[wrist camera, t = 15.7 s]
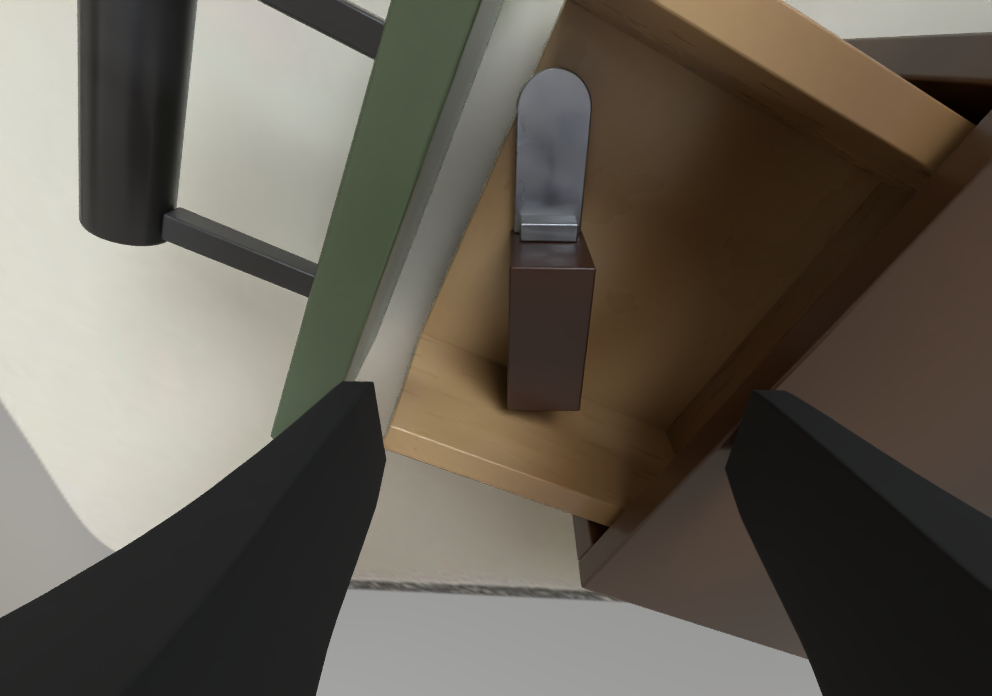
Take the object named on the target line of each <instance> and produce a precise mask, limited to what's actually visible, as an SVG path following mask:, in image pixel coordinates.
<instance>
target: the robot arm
mask: <svg viewBox="0 0 992 696" xmlns="http://www.w3.org/2000/svg"><path fill="white" fill-rule="evenodd" d="M385 463H386V455H385V449H384V443H383V437H382V431H381V425H380V419H379V413H378V407H377V401H376V395H375V389H374V383H373V382H358V381H342V382H341V383H339V384H338V385H337V386H336V387H334V388H333V389H332V390H331V391H330V392H328V393H327V394H326V395H325V396H324V397H323V398H322V399H320V400H319V401H318V402H317V403H316V404H315V405H313V406H312V407H311V408H310V409H309V410H308V411H307V412H305V413H304V414H303V415H302V416H301V417H300V418H298V419H297V420H296V421H295V422H294V423H293V424H291V425H290V426H289V427H288V428H287V429H285V430H284V431H283V432H282V433H281V434H279V435H278V436H277V437H276V438H275V439H273V440H272V441H271V442H270V443H269V444H267V445H266V446H265V447H264V448H263V449H261V450H260V451H259V452H258V453H256V454H255V455H254V456H252V457H251V458H250V459H249V460H247V461H246V462H245V463H243V464H242V465H241V466H239V467H238V468H237V469H236V470H234V471H233V472H232V473H230V474H229V475H228V476H226V477H225V478H224V479H223V480H221V481H220V482H219V483H217V484H216V485H215V486H213V487H212V488H211V489H210V490H208V491H207V492H205V493H204V494H203V495H201V496H200V497H198V498H197V499H196V500H194V501H193V502H191V503H190V504H189V505H187V506H186V507H184V508H183V509H181V510H180V511H178V512H177V513H176V514H174V515H172V516H171V517H169V518H168V519H166V520H165V521H163V522H162V523H160V524H159V525H157V526H156V527H154V528H153V529H151V530H150V531H148V532H147V533H145V534H144V535H142V536H141V537H139V538H138V539H136V540H134V541H133V542H131V543H130V544H128V545H126V546H125V547H123V548H122V549H120V550H118V551H116V552H115V553H113V554H111V555H110V556H108V557H106V558H105V559H103V560H101V561H99V562H98V563H96V564H94V565H93V566H91V567H89V568H88V569H86V570H84V571H83V572H81V573H79V574H77V575H76V576H74V577H72V578H71V579H69V580H67V581H66V582H64V583H62V584H60V585H59V586H57V587H55V588H54V589H52V590H50V591H49V592H47V593H45V594H44V595H42V596H40V597H38V598H36V599H34V600H33V601H31V602H29V603H27V604H25V605H23V606H22V607H20V608H18V609H16V610H14V611H12V612H11V613H9V614H7V615H5V616H3V617H1V618H0V696H316V692H317V688H318V684H319V680H320V676H321V672H322V668H323V665H324V661H325V657H326V653H327V648H328V646H329V642H330V639H331V636H332V633H333V629H334V626H335V623H336V620H337V617H338V614H339V611H340V608H341V606H342V603H343V600H344V597H345V594H346V592H347V589H348V586H349V583H350V580H351V577H352V575H353V572H354V569H355V566H356V563H357V560H358V558H359V555H360V552H361V549H362V546H363V543H364V540H365V538H366V535H367V532H368V529H369V526H370V523H371V520H372V517H373V514H374V511H375V508H376V505H377V500H378V496H379V491H380V487H381V482H382V478H383V473H384V468H385ZM725 471H726V474H727V477H728V481H729V484H730V487H731V490H732V494H733V497H734V499H735V502H736V505H737V508H738V511H739V514H740V517H741V519H742V521H743V523H744V526H745V528H746V530H747V532H748V534H749V536H750V538H751V540H752V542H753V545H754V547H755V549H756V551H757V553H758V555H759V557H760V559H761V561H762V563H763V565H764V567H765V569H766V571H767V573H768V576H769V578H770V580H771V582H772V584H773V586H774V588H775V590H776V592H777V594H778V596H779V598H780V600H781V602H782V604H783V606H784V608H785V610H786V612H787V614H788V616H789V618H790V621H791V623H792V625H793V627H794V629H795V631H796V633H797V635H798V637H799V639H800V641H801V644H802V646H803V648H804V650H805V653H806V655H807V657H808V659H809V662H810V664H811V666H812V669H813V671H814V674H815V677H816V679H817V682H818V684H819V687H820V690H821V692H822V695H823V696H992V518H990V517H989V516H987V515H985V514H984V513H982V512H980V511H978V510H977V509H975V508H973V507H972V506H970V505H968V504H967V503H965V502H963V501H962V500H960V499H958V498H956V497H955V496H953V495H951V494H950V493H948V492H946V491H945V490H943V489H941V488H940V487H938V486H936V485H935V484H933V483H932V482H930V481H928V480H927V479H925V478H923V477H922V476H920V475H919V474H917V473H915V472H914V471H912V470H911V469H909V468H907V467H906V466H904V465H903V464H901V463H900V462H898V461H896V460H895V459H893V458H892V457H890V456H889V455H887V454H886V453H884V452H882V451H881V450H879V449H878V448H876V447H875V446H873V445H872V444H870V443H869V442H867V441H865V440H864V439H862V438H861V437H859V436H858V435H856V434H855V433H853V432H852V431H850V430H849V429H847V428H846V427H844V426H842V425H841V424H839V423H838V422H836V421H835V420H833V419H832V418H830V417H829V416H827V415H825V414H824V413H822V412H821V411H819V410H818V409H816V408H814V407H813V406H811V405H810V404H808V403H806V402H805V401H803V400H801V399H800V398H798V397H796V396H794V395H793V394H791V393H789V392H787V391H785V390H752V391H751V394H750V397H749V400H748V403H747V406H746V409H745V411H744V414H743V417H742V420H741V423H740V426H739V429H738V432H737V434H736V437H735V440H734V443H733V446H732V449H731V452H730V455H729V457H728V460H727V463H726V466H725Z"/></svg>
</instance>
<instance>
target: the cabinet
mask: <svg viewBox="0 0 992 696" xmlns="http://www.w3.org/2000/svg"><path fill="white" fill-rule="evenodd" d="M843 40H844V41H846V42H848V43H849V44H851V45H852V46H854V47H855V48H857V49H858V50H860V51H861V52H863V53H865V54H866V55H868V56H869V57H871V58H872V59H874V60H875V61H877V62H879V63H880V64H882V65H883V66H885V67H886V68H888V69H889V70H891V71H892V72H894V73H896V74H897V75H899V76H900V77H902V78H903V79H905V80H906V81H908V82H909V83H911V84H913V85H914V86H916V87H917V88H919V89H920V90H922V91H923V92H925V93H927V94H928V95H930V96H931V97H933V98H934V99H936V100H937V101H939V102H940V103H942V104H944V105H945V106H947V107H948V108H950V109H951V110H953V111H954V112H956V113H957V114H959V115H961V116H962V117H964V118H965V119H967V120H968V121H970V122H971V123H973V124H975V125H976V127H975V128H974V129H973V130H972V131H971V132H970V133H969V134H968V136H967V137H966V138H965V139H964V140H963V141H962V142H961V143H960V144H959V145H958V147H957V148H956V149H955V150H954V151H953V152H952V153H951V154H950V155H949V156H948V157H947V159H946V160H945V161H944V162H943V163H942V164H941V165H940V166H939V167H938V168H937V170H936V171H935V172H934V173H933V174H932V175H931V176H930V177H929V178H928V179H927V180H926V182H925V183H924V184H923V185H922V186H921V187H920V188H919V189H918V190H917V191H916V193H915V194H914V195H913V196H912V197H911V198H910V199H909V200H908V201H907V202H906V203H905V205H904V206H903V207H902V208H901V209H900V210H899V211H898V212H897V213H896V214H895V215H894V217H893V218H892V219H891V220H890V221H889V222H888V223H887V224H886V225H885V226H884V228H883V229H882V230H881V231H880V232H879V233H878V234H877V235H876V236H875V237H874V238H873V240H872V241H871V242H870V243H869V244H868V245H867V246H866V247H865V248H864V249H863V251H862V252H861V253H860V254H859V255H858V256H857V257H856V258H855V259H854V260H853V261H852V263H851V264H850V265H849V266H848V267H847V268H846V269H845V270H844V271H843V272H842V274H841V275H840V276H839V277H838V278H837V279H836V280H835V281H834V282H833V283H832V284H831V286H830V287H829V288H828V289H827V290H826V291H825V292H824V293H823V294H822V295H821V297H820V298H819V299H818V300H817V301H816V302H815V303H814V304H813V305H812V306H811V307H810V309H809V310H808V311H807V312H806V313H805V314H804V315H803V316H802V317H801V318H800V320H799V321H798V322H797V323H796V324H795V325H794V326H793V327H792V328H791V329H790V330H789V332H788V333H787V334H786V335H785V336H784V337H783V338H782V339H781V340H780V341H779V342H778V344H777V345H776V346H775V347H774V348H773V349H772V350H771V351H770V352H769V353H768V355H767V356H766V357H765V358H764V359H763V360H762V361H761V362H760V363H759V364H758V365H757V367H756V368H755V369H754V370H753V371H752V372H751V373H750V374H749V375H748V376H747V378H746V379H745V380H744V381H743V382H742V383H741V384H740V385H739V386H738V387H737V388H736V390H735V391H734V392H733V393H732V394H731V395H730V396H729V397H728V398H727V399H726V401H725V402H724V403H723V404H722V405H721V406H720V407H719V408H718V409H717V410H716V411H715V413H714V414H713V415H712V416H711V417H710V418H709V419H708V420H707V421H706V422H705V424H704V425H703V426H702V427H701V428H700V429H699V430H698V431H697V432H696V433H695V434H694V436H693V437H692V438H691V439H690V440H689V441H688V442H687V443H686V444H685V445H684V447H683V448H682V449H681V450H680V451H679V452H678V453H677V454H676V455H675V456H674V457H673V459H672V460H671V461H670V462H669V463H668V464H667V465H666V466H665V467H664V468H663V469H662V471H661V472H660V473H659V474H658V475H657V476H656V477H655V478H654V479H653V480H652V482H651V483H650V484H649V485H648V486H647V487H646V488H645V489H644V490H643V491H642V492H641V494H640V495H639V496H638V497H637V498H636V499H635V500H634V501H633V502H632V503H631V505H630V506H629V507H628V508H627V509H626V510H625V511H624V512H623V513H622V514H621V515H620V517H619V518H618V519H617V520H616V521H615V522H614V523H613V524H612V525H611V526H610V527H608V526H605V525H602V524H599V523H596V522H593V521H591V520H588V519H585V518H582V517H579V516H576V515H573V514H572V516H573V524H574V532H575V540H576V548H577V556H578V560H579V571H580V579H581V586H582V588H584V589H588V590H591V591H594V592H597V593H600V594H603V595H607V596H610V597H613V598H616V599H619V600H622V601H625V602H629V603H632V604H635V605H638V606H642V607H645V608H648V609H651V610H654V611H657V612H660V613H664V614H667V615H670V616H673V617H676V618H679V619H682V620H686V621H689V622H692V623H695V624H698V625H701V626H705V627H708V628H711V629H714V630H717V631H720V632H724V633H727V634H730V635H733V636H736V637H739V638H743V639H746V640H749V641H752V642H755V643H758V644H761V645H765V646H768V647H771V648H774V649H777V650H780V651H784V652H787V653H790V654H794V655H796V656H800V657H803V658H806V659H808V657H807V655H806V653H805V650H804V648H803V646H802V644H801V641H800V639H799V637H798V635H797V633H796V631H795V629H794V627H793V625H792V623H791V621H790V618H789V616H788V614H787V612H786V610H785V608H784V606H783V604H782V602H781V600H780V598H779V596H778V594H777V592H776V590H775V588H774V586H773V584H772V582H771V580H770V578H769V576H768V573H767V571H766V569H765V567H764V565H763V563H762V561H761V559H760V557H759V555H758V553H757V551H756V549H755V547H754V545H753V542H752V540H751V538H750V536H749V534H748V532H747V530H746V528H745V526H744V523H743V521H742V519H741V517H740V514H739V511H738V508H737V505H736V502H735V499H734V497H733V494H732V490H731V487H730V484H729V481H728V477H727V474H726V471H725V466H726V463H727V460H728V457H729V455H730V452H731V449H732V446H733V443H734V440H735V437H736V434H737V432H738V429H739V426H740V423H741V420H742V417H743V414H744V411H745V409H746V406H747V403H748V400H749V397H750V394H751V391H752V390H785V391H787V392H789V393H791V394H793V395H794V396H796V397H798V398H800V399H801V400H803V401H805V402H806V403H808V404H810V405H811V406H813V407H814V408H816V409H818V410H819V411H821V412H822V413H824V414H825V415H827V416H829V417H830V418H832V419H833V420H835V421H836V422H838V423H839V424H841V425H842V426H844V427H846V428H847V429H849V430H850V431H852V432H853V433H855V434H856V435H858V436H859V437H861V438H862V439H864V440H865V441H867V442H869V443H870V444H872V445H873V446H875V447H876V448H878V449H879V450H881V451H882V452H884V453H886V454H887V455H889V456H890V457H892V458H893V459H895V460H896V461H898V462H900V463H901V464H903V465H904V466H906V467H907V468H909V469H911V470H912V471H914V472H915V473H917V474H919V475H920V476H922V477H923V478H925V479H927V480H928V481H930V482H932V483H933V484H935V485H936V486H938V487H940V488H941V489H943V490H945V491H946V492H948V493H950V494H951V495H953V496H955V497H956V498H958V499H960V500H962V501H963V502H965V503H967V504H968V505H970V506H972V507H973V508H975V509H977V510H978V511H980V512H982V513H984V514H985V515H987V516H989V517H990V518H992V32H985V33H964V34H942V35H921V36H900V37H879V38H857V39H843Z"/></svg>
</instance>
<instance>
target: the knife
mask: <svg viewBox="0 0 992 696" xmlns="http://www.w3.org/2000/svg"><path fill="white" fill-rule="evenodd" d="M591 112H592V100H591V95H590V92H589V89H588V87H587V85H586V84H585V82H584V81H583V79H582V78H581V77H580V76H579V75H577V74H576V73H575V72H573V71H571V70H569V69H566V68H562V67H549V68H545V69H542V70H540V71H538V72H536V73H535V74H534V75H532V76H531V77H530V78H529V79H528V80H527V81H526V83H525V84H524V85H523V87H522V89H521V91H520V93H519V96H518V100H517V106H516V146H515V196H514V230H511V231H510V256H509V309H508V373H507V409H508V410H543V411H579V410H580V404H581V396H582V387H583V379H584V370H585V361H586V353H587V344H588V336H589V327H590V319H591V310H592V302H593V293H594V285H595V276H596V267H595V265H594V262H593V259H592V257H591V254H590V251H589V249H588V246H587V243H586V241H585V238H584V235H583V233H582V231H581V219H582V209H583V198H584V187H585V177H586V166H587V156H588V145H589V135H590V124H591Z"/></svg>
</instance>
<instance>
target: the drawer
mask: <svg viewBox="0 0 992 696" xmlns="http://www.w3.org/2000/svg"><path fill="white" fill-rule="evenodd" d="M258 1H260V2H262V3H264V4H266V5H268V6H270V7H272V8H274V9H276V10H278V11H280V12H282V13H284V14H285V15H287V16H289V17H291V18H293V19H295V20H297V21H299V22H301V23H303V24H305V25H307V26H309V27H311V28H313V29H315V30H317V31H319V32H321V33H323V34H325V35H327V36H329V37H331V38H333V39H334V40H336V41H338V42H340V43H342V44H344V45H346V46H348V47H350V48H352V49H354V50H356V51H358V52H360V53H362V54H364V55H366V56H368V57H370V58H372V59H374V60H375V61H374V64H373V68H372V71H371V75H370V79H369V82H368V86H367V89H366V93H365V97H364V100H363V104H362V107H361V111H360V115H359V118H358V122H357V125H356V129H355V133H354V136H353V140H352V143H351V147H350V151H349V154H348V158H347V161H346V165H345V169H344V172H343V176H342V179H341V183H340V187H339V190H338V194H337V198H336V201H335V205H334V208H333V212H332V216H331V219H330V223H329V226H328V230H327V234H326V237H325V241H324V244H323V248H322V252H321V255H320V259H319V262H318V264H316V263H314V262H311V261H309V260H306V259H304V258H302V257H299V256H297V255H294V254H292V253H290V252H287V251H285V250H282V249H280V248H277V247H275V246H273V245H270V244H268V243H265V242H263V241H261V240H258V239H256V238H253V237H251V236H249V235H246V234H244V233H241V232H239V231H237V230H234V229H232V228H229V227H227V226H224V225H222V224H220V223H217V222H215V221H212V220H210V219H208V218H205V217H203V216H200V215H198V214H196V213H193V212H191V211H188V210H186V209H183V208H179V207H178V208H176V207H177V197H178V187H179V178H180V168H181V158H182V148H183V138H184V128H185V118H186V108H187V99H188V89H189V79H190V69H191V59H192V49H193V39H194V29H195V20H196V10H197V0H77V22H78V149H79V220H80V222H81V224H82V226H83V227H84V228H85V229H86V230H87V231H88V232H90V233H92V234H93V235H95V236H97V237H100V238H102V239H105V240H108V241H111V242H115V243H119V244H124V245H132V246H153V245H159V244H162V243H165V242H167V241H168V242H171V243H173V244H176V245H178V246H181V247H183V248H186V249H188V250H191V251H193V252H196V253H198V254H201V255H203V256H206V257H208V258H211V259H213V260H216V261H218V262H221V263H223V264H226V265H228V266H231V267H233V268H236V269H238V270H241V271H243V272H246V273H248V274H251V275H253V276H256V277H258V278H261V279H263V280H266V281H268V282H271V283H273V284H276V285H278V286H281V287H283V288H286V289H288V290H291V291H293V292H296V293H298V294H301V295H303V296H306V297H308V302H307V306H306V309H305V313H304V316H303V320H302V324H301V327H300V331H299V335H298V338H297V342H296V345H295V349H294V353H293V356H292V360H291V363H290V367H289V371H288V374H287V378H286V381H285V385H284V389H283V392H282V396H281V399H280V403H279V407H278V410H277V414H276V417H275V421H274V425H273V428H272V432H271V437H272V438H274V439H275V438H276V437H277V436H278V435H279V434H281V433H282V432H283V431H284V430H285V429H287V428H288V427H289V426H290V425H291V424H293V423H294V422H295V421H296V420H297V419H298V418H300V417H301V416H302V415H303V414H304V413H305V412H307V411H308V410H309V409H310V408H311V407H312V406H313V405H315V404H316V403H317V402H318V401H319V400H320V399H322V398H323V397H324V396H325V395H326V394H327V393H328V392H330V391H331V390H332V389H333V388H334V387H336V386H337V385H338V384H339V383H341V382H342V381H354V380H355V378H356V376H357V374H358V372H359V370H360V368H361V366H362V364H363V362H364V360H365V358H366V356H367V354H368V352H369V350H370V348H371V346H372V344H373V342H374V340H375V338H376V336H377V333H378V331H379V328H380V326H381V323H382V320H383V318H384V315H385V312H386V310H387V307H388V305H389V302H390V299H391V297H392V294H393V291H394V289H395V286H396V283H397V281H398V278H399V276H400V273H401V270H402V268H403V265H404V262H405V260H406V257H407V255H408V252H409V249H410V247H411V244H412V241H413V239H414V236H415V233H416V231H417V228H418V226H419V223H420V220H421V218H422V215H423V212H424V210H425V207H426V205H427V202H428V199H429V197H430V194H431V191H432V189H433V186H434V183H435V181H436V178H437V176H438V173H439V170H440V168H441V165H442V162H443V160H444V157H445V155H446V152H447V149H448V147H449V144H450V141H451V139H452V136H453V133H454V131H455V128H456V126H457V123H458V120H459V118H460V115H461V112H462V110H463V107H464V105H465V102H466V99H467V97H468V94H469V91H470V89H471V86H472V83H473V81H474V78H475V76H476V73H477V70H478V68H479V65H480V62H481V60H482V57H483V55H484V52H485V49H486V47H487V44H488V41H489V39H490V36H491V33H492V31H493V28H494V26H495V23H496V20H497V18H498V15H499V12H500V10H501V7H502V4H503V2H504V0H391V3H390V6H389V10H388V14H387V17H386V20H384V19H382V18H380V17H378V16H377V15H375V14H373V13H371V12H369V11H367V10H365V9H363V8H361V7H360V6H358V5H356V4H354V3H352V2H350V1H348V0H258ZM549 67H562V68H566V69H569V70H571V71H573V72H575V73H576V74H577V75H579V76H580V77H581V78H582V79H583V81H584V82H585V84H586V85H587V87H588V89H589V92H590V95H591V100H592V112H591V124H590V135H589V145H588V156H587V166H586V177H585V187H584V198H583V209H582V219H581V231H582V233H583V235H584V238H585V241H586V243H587V246H588V249H589V251H590V254H591V257H592V259H593V262H594V265H595V267H596V276H595V285H594V293H593V302H592V310H591V319H590V327H589V336H588V344H587V353H586V361H585V370H584V379H583V387H582V396H581V404H580V410H579V411H543V410H508V409H507V373H508V309H509V256H510V231H511V230H514V196H515V146H516V113H515V115H514V117H513V120H512V122H511V124H510V127H509V129H508V131H507V134H506V136H505V138H504V140H503V143H502V145H501V147H500V150H499V152H498V154H497V157H496V159H495V161H494V163H493V166H492V168H491V170H490V173H489V175H488V177H487V180H486V182H485V184H484V186H483V189H482V191H481V193H480V196H479V198H478V200H477V203H476V205H475V207H474V209H473V212H472V214H471V216H470V219H469V221H468V223H467V226H466V228H465V230H464V232H463V235H462V237H461V239H460V242H459V244H458V246H457V249H456V251H455V253H454V255H453V258H452V260H451V262H450V265H449V267H448V269H447V272H446V274H445V276H444V278H443V281H442V283H441V285H440V288H439V290H438V292H437V295H436V297H435V299H434V301H433V304H432V306H431V308H430V311H429V313H428V315H427V318H426V320H425V322H424V324H423V327H422V329H421V331H420V334H419V336H418V338H417V341H416V344H415V347H414V350H413V353H412V356H411V359H410V362H409V364H408V367H407V370H406V373H405V376H404V379H403V382H402V385H401V388H400V391H399V393H398V396H397V399H396V402H395V405H394V408H393V411H392V414H391V417H390V420H389V422H388V425H387V428H386V431H385V434H384V437H383V443H384V449H387V450H390V451H393V452H396V453H398V454H401V455H404V456H407V457H410V458H413V459H416V460H418V461H421V462H424V463H427V464H430V465H433V466H436V467H439V468H441V469H444V470H447V471H450V472H453V473H456V474H459V475H462V476H464V477H467V478H470V479H473V480H476V481H479V482H482V483H484V484H487V485H490V486H493V487H496V488H499V489H502V490H505V491H507V492H510V493H513V494H516V495H519V496H522V497H525V498H527V499H530V500H533V501H536V502H539V503H542V504H545V505H548V506H550V507H553V508H556V509H559V510H562V511H565V512H568V513H571V514H573V515H576V516H579V517H582V518H585V519H588V520H591V521H593V522H596V523H599V524H602V525H605V526H608V527H610V526H611V525H612V524H613V523H614V522H615V521H616V520H617V519H618V518H619V517H620V515H621V514H622V513H623V512H624V511H625V510H626V509H627V508H628V507H629V506H630V505H631V503H632V502H633V501H634V500H635V499H636V498H637V497H638V496H639V495H640V494H641V492H642V491H643V490H644V489H645V488H646V487H647V486H648V485H649V484H650V483H651V482H652V480H653V479H654V478H655V477H656V476H657V475H658V474H659V473H660V472H661V471H662V469H663V468H664V467H665V466H666V465H667V464H668V463H669V462H670V461H671V460H672V459H673V457H674V456H675V455H676V454H677V453H678V452H679V451H680V450H681V449H682V448H683V447H684V445H685V444H686V443H687V442H688V441H689V440H690V439H691V438H692V437H693V436H694V434H695V433H696V432H697V431H698V430H699V429H700V428H701V427H702V426H703V425H704V424H705V422H706V421H707V420H708V419H709V418H710V417H711V416H712V415H713V414H714V413H715V411H716V410H717V409H718V408H719V407H720V406H721V405H722V404H723V403H724V402H725V401H726V399H727V398H728V397H729V396H730V395H731V394H732V393H733V392H734V391H735V390H736V388H737V387H738V386H739V385H740V384H741V383H742V382H743V381H744V380H745V379H746V378H747V376H748V375H749V374H750V373H751V372H752V371H753V370H754V369H755V368H756V367H757V365H758V364H759V363H760V362H761V361H762V360H763V359H764V358H765V357H766V356H767V355H768V353H769V352H770V351H771V350H772V349H773V348H774V347H775V346H776V345H777V344H778V342H779V341H780V340H781V339H782V338H783V337H784V336H785V335H786V334H787V333H788V332H789V330H790V329H791V328H792V327H793V326H794V325H795V324H796V323H797V322H798V321H799V320H800V318H801V317H802V316H803V315H804V314H805V313H806V312H807V311H808V310H809V309H810V307H811V306H812V305H813V304H814V303H815V302H816V301H817V300H818V299H819V298H820V297H821V295H822V294H823V293H824V292H825V291H826V290H827V289H828V288H829V287H830V286H831V284H832V283H833V282H834V281H835V280H836V279H837V278H838V277H839V276H840V275H841V274H842V272H843V271H844V270H845V269H846V268H847V267H848V266H849V265H850V264H851V263H852V261H853V260H854V259H855V258H856V257H857V256H858V255H859V254H860V253H861V252H862V251H863V249H864V248H865V247H866V246H867V245H868V244H869V243H870V242H871V241H872V240H873V238H874V237H875V236H876V235H877V234H878V233H879V232H880V231H881V230H882V229H883V228H884V226H885V225H886V224H887V223H888V222H889V221H890V220H891V219H892V218H893V217H894V215H895V214H896V213H897V212H898V211H899V210H900V209H901V208H902V207H903V206H904V205H905V203H906V202H907V201H908V200H909V199H910V198H911V197H912V196H913V195H914V194H915V193H916V191H917V190H918V189H919V188H920V187H921V186H922V185H923V184H924V183H925V182H926V180H927V179H928V178H929V177H930V176H931V175H932V174H933V173H934V172H935V171H936V170H937V168H938V167H939V166H940V165H941V164H942V163H943V162H944V161H945V160H946V159H947V157H948V156H949V155H950V154H951V153H952V152H953V151H954V150H955V149H956V148H957V147H958V145H959V144H960V143H961V142H962V141H963V140H964V139H965V138H966V137H967V136H968V134H969V133H970V132H971V131H972V130H973V129H974V128H975V127H976V125H975V124H973V123H971V122H970V121H968V120H967V119H965V118H964V117H962V116H961V115H959V114H957V113H956V112H954V111H953V110H951V109H950V108H948V107H947V106H945V105H944V104H942V103H940V102H939V101H937V100H936V99H934V98H933V97H931V96H930V95H928V94H927V93H925V92H923V91H922V90H920V89H919V88H917V87H916V86H914V85H913V84H911V83H909V82H908V81H906V80H905V79H903V78H902V77H900V76H899V75H897V74H896V73H894V72H892V71H891V70H889V69H888V68H886V67H885V66H883V65H882V64H880V63H879V62H877V61H875V60H874V59H872V58H871V57H869V56H868V55H866V54H865V53H863V52H861V51H860V50H858V49H857V48H855V47H854V46H852V45H851V44H849V43H848V42H846V41H844V40H843V39H841V38H840V37H838V36H837V35H835V34H834V33H832V32H831V31H829V30H827V29H826V28H824V27H823V26H821V25H820V24H818V23H817V22H815V21H813V20H812V19H810V18H809V17H807V16H806V15H804V14H803V13H801V12H800V11H798V10H796V9H795V8H793V7H792V6H790V5H789V4H787V3H786V2H784V1H783V0H564V2H563V5H562V7H561V9H560V12H559V14H558V16H557V19H556V21H555V23H554V25H553V28H552V30H551V32H550V35H549V37H548V39H547V42H546V44H545V46H544V48H543V51H542V53H541V55H540V58H539V60H538V62H537V65H536V67H535V69H534V71H533V74H532V75H534V74H535V73H536V72H538V71H540V70H542V69H545V68H549Z"/></svg>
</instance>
